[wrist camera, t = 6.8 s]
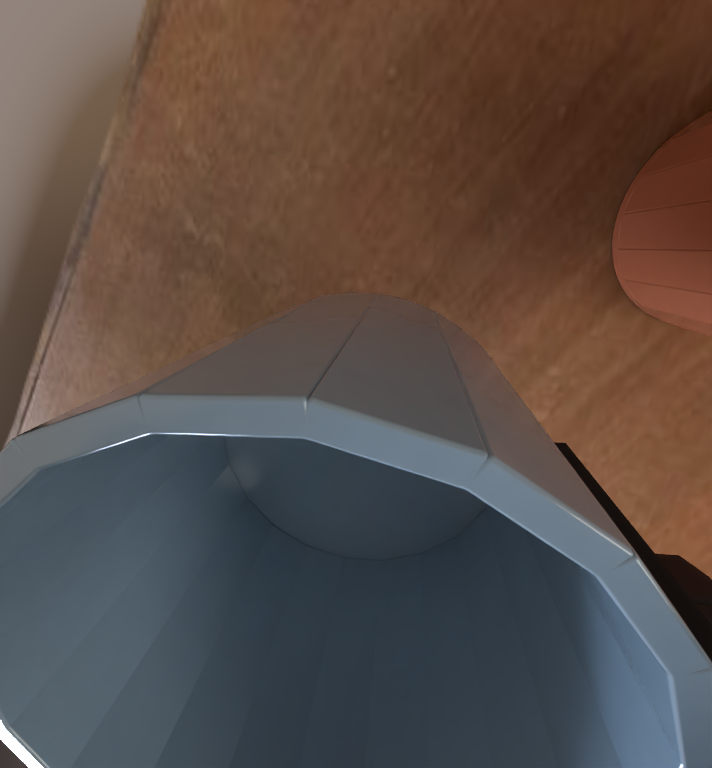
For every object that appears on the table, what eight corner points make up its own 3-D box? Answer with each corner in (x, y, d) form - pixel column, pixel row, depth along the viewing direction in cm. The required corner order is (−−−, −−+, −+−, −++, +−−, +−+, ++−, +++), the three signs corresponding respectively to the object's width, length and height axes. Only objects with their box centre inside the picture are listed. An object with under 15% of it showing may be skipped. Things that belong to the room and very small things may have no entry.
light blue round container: (243, 546, 16) (69, 857, 8) (195, 296, 13) (-229, 390, 4) (499, 565, 15) (616, 977, 6) (532, 286, 11) (921, 405, 3)
